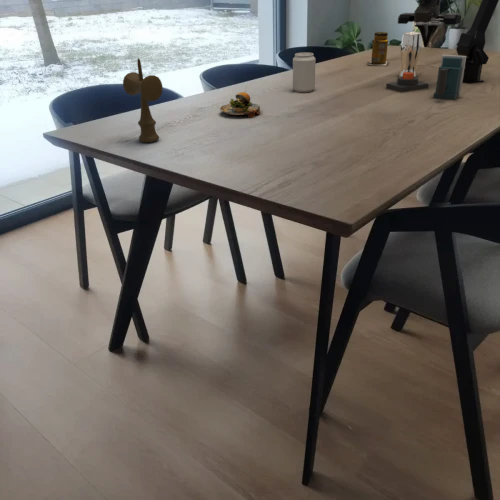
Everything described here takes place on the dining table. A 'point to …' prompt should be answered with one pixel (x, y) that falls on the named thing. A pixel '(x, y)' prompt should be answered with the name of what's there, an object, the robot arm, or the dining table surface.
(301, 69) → the can
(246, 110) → the burger
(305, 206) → the dining table surface
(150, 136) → the kendama
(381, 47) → the condiment
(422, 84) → the switch block
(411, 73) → the power button
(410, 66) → the beer glass
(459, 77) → the iron
